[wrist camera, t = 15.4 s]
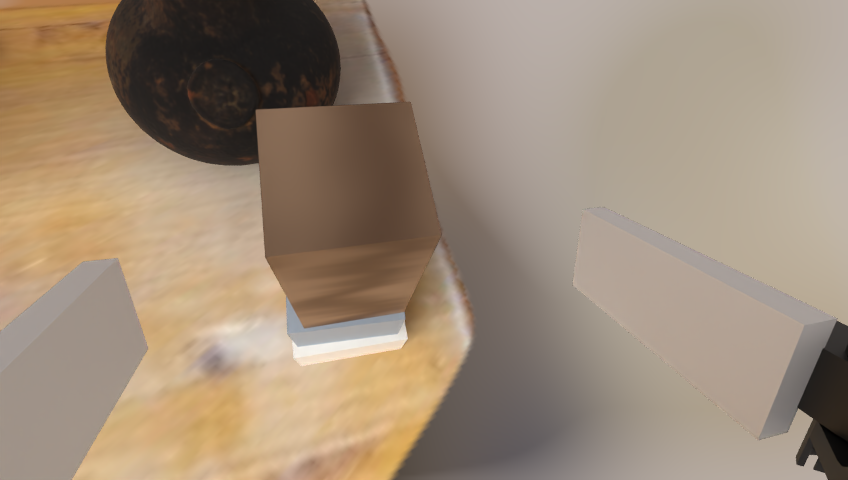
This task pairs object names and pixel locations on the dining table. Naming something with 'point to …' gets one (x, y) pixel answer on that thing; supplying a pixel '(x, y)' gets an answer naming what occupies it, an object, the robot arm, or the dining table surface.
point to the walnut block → (345, 208)
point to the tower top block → (341, 328)
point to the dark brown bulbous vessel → (218, 69)
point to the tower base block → (348, 348)
